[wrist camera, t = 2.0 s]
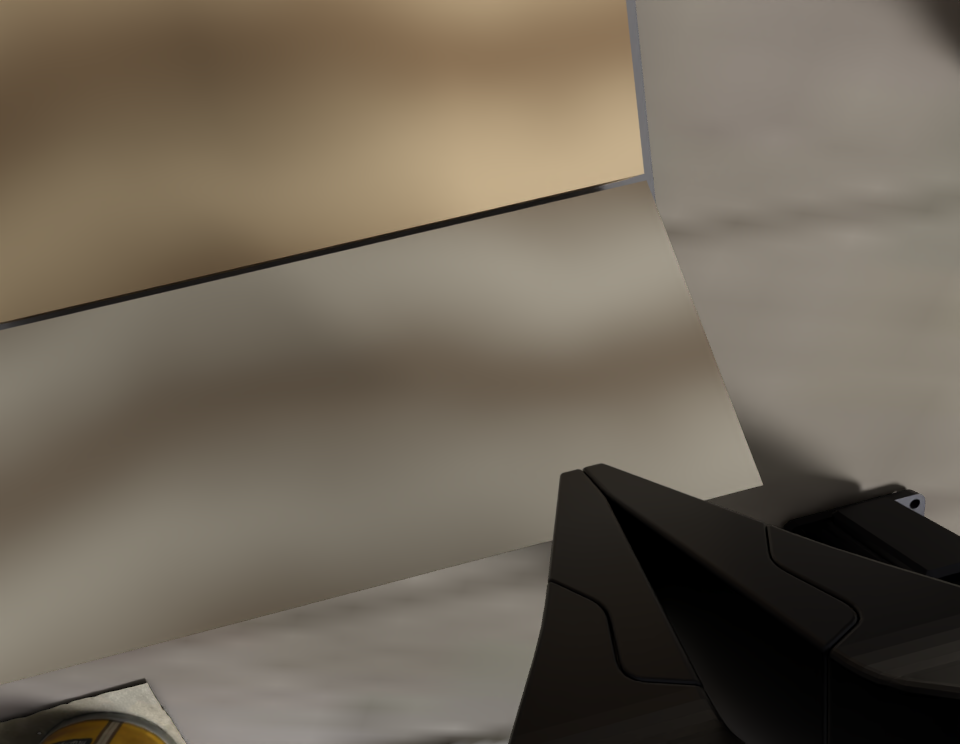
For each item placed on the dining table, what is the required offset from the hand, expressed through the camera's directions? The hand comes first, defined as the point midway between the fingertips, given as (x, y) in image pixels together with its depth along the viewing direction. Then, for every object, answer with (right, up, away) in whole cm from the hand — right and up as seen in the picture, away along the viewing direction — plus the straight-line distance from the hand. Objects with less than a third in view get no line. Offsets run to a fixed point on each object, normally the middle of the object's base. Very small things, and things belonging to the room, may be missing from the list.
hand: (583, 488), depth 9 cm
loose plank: (-6, +1, +5) cm, 7 cm away
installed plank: (-8, +10, +4) cm, 14 cm away
